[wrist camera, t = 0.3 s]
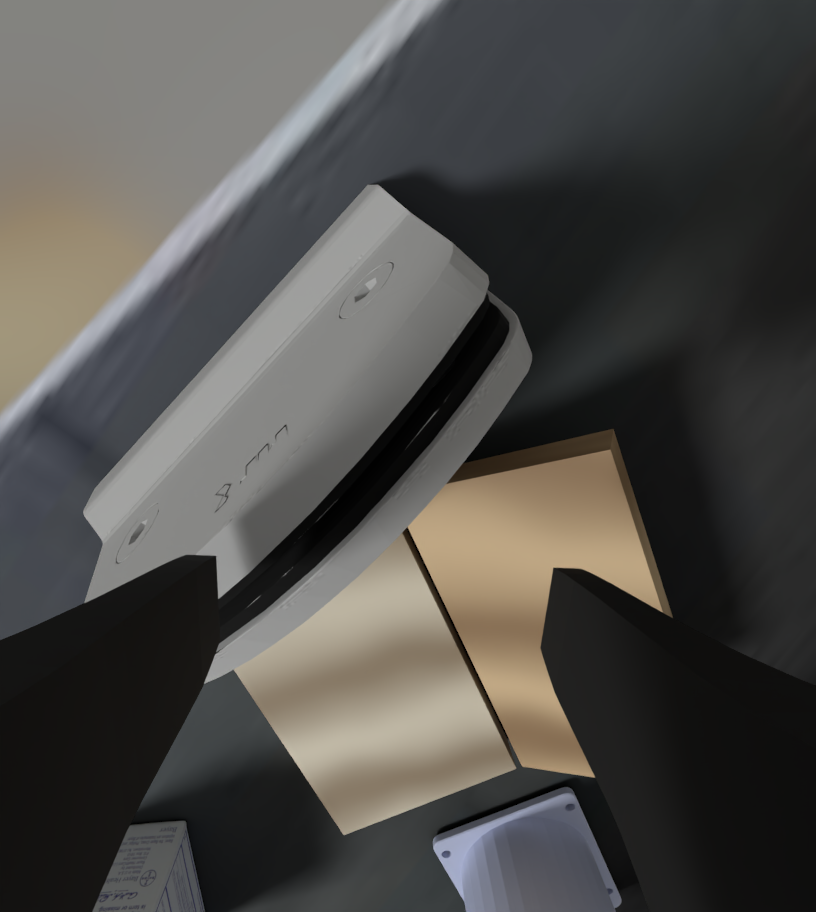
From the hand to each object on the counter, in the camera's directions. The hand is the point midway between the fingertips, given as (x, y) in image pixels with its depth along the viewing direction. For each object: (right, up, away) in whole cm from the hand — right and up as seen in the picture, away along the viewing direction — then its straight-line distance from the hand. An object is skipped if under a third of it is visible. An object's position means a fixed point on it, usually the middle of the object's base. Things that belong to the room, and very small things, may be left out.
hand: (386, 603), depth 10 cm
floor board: (-2, -6, +12) cm, 14 cm away
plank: (+7, -3, +9) cm, 12 cm away
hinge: (-4, +5, +9) cm, 11 cm away
